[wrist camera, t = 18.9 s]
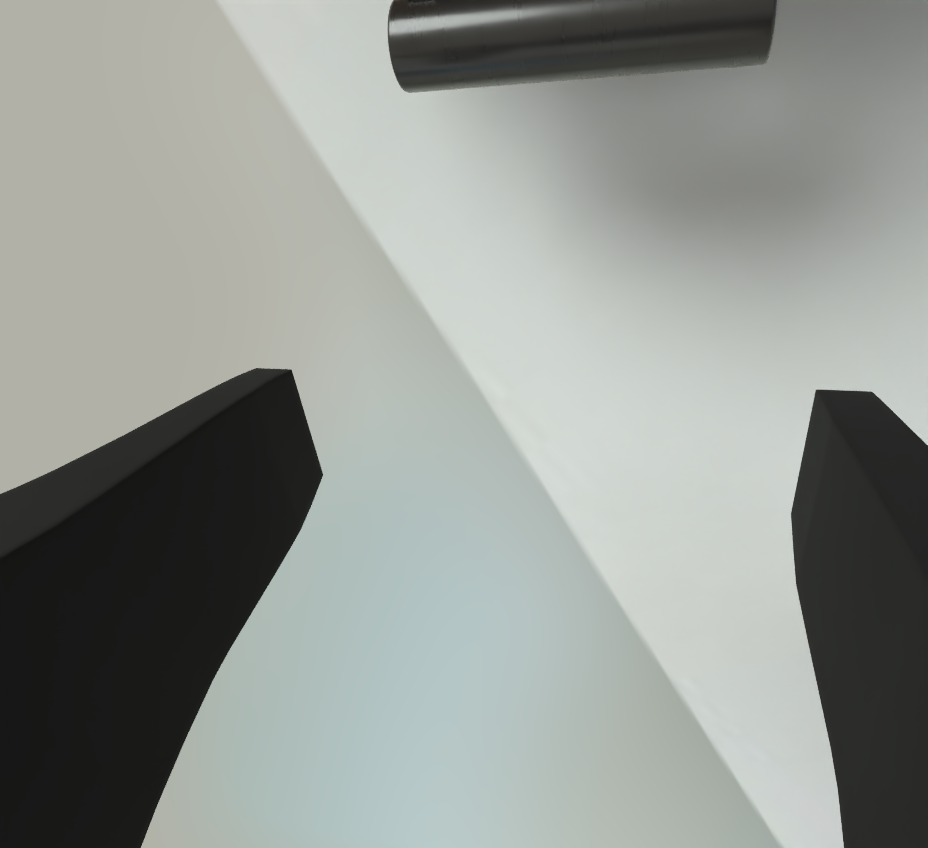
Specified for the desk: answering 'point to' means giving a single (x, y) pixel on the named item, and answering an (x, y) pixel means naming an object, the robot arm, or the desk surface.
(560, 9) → the drawer
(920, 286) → the desk surface
